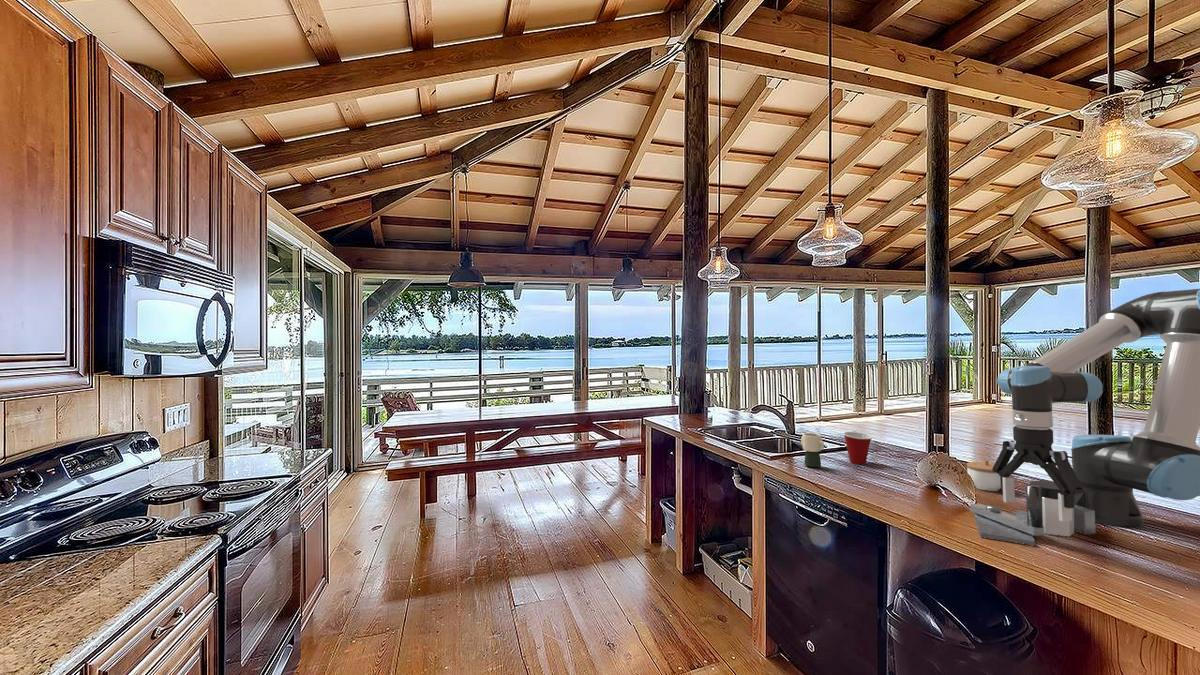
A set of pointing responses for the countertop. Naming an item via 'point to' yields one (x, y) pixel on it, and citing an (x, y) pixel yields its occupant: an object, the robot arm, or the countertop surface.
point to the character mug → (812, 448)
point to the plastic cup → (857, 446)
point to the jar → (1053, 510)
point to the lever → (1018, 512)
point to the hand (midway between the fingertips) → (1035, 510)
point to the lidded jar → (984, 476)
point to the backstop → (1084, 520)
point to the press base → (1001, 530)
